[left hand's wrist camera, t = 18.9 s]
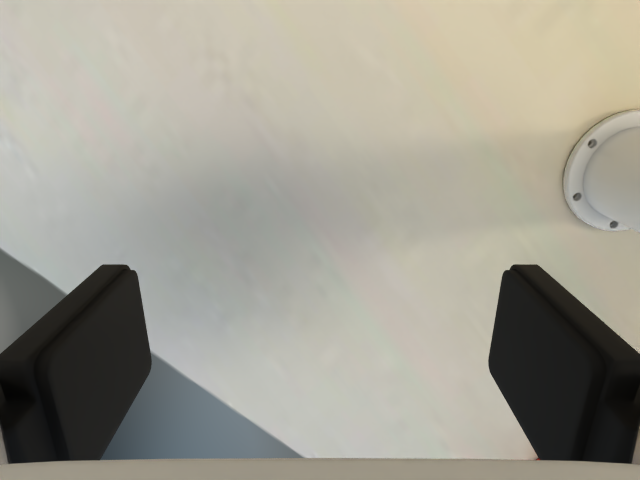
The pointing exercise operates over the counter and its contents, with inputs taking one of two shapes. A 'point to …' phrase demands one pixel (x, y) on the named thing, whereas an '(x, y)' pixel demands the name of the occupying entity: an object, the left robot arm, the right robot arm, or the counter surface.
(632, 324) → the counter surface
